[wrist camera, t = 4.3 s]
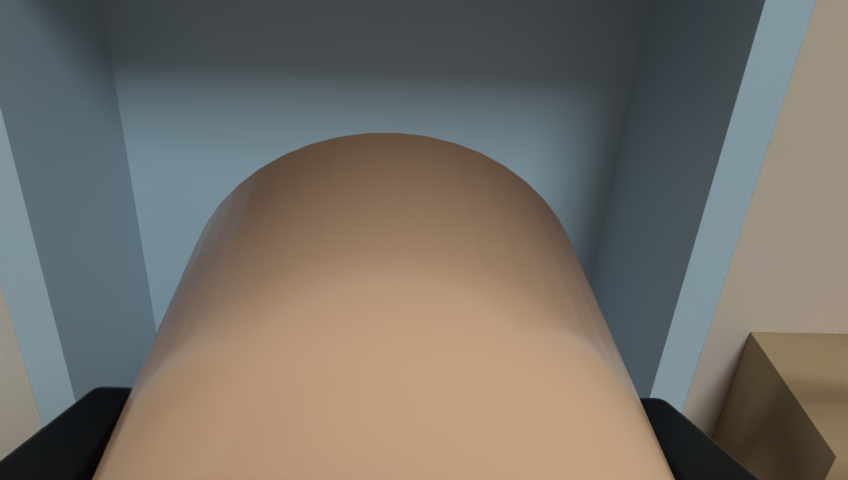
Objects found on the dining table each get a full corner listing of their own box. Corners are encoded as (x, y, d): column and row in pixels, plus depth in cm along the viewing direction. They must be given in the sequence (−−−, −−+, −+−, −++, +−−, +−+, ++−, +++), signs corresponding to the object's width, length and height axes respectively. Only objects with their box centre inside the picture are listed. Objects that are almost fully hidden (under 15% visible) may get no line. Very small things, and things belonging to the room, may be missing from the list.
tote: (570, 454, 24) (615, 614, 19) (158, 451, 23) (98, 617, 19) (704, -131, 15) (849, -103, 10) (43, -173, 14) (-131, -163, 10)
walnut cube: (847, 448, 25) (943, 582, 21) (706, 446, 25) (773, 582, 20) (906, 333, 22) (1028, 459, 18) (749, 330, 22) (836, 457, 18)
